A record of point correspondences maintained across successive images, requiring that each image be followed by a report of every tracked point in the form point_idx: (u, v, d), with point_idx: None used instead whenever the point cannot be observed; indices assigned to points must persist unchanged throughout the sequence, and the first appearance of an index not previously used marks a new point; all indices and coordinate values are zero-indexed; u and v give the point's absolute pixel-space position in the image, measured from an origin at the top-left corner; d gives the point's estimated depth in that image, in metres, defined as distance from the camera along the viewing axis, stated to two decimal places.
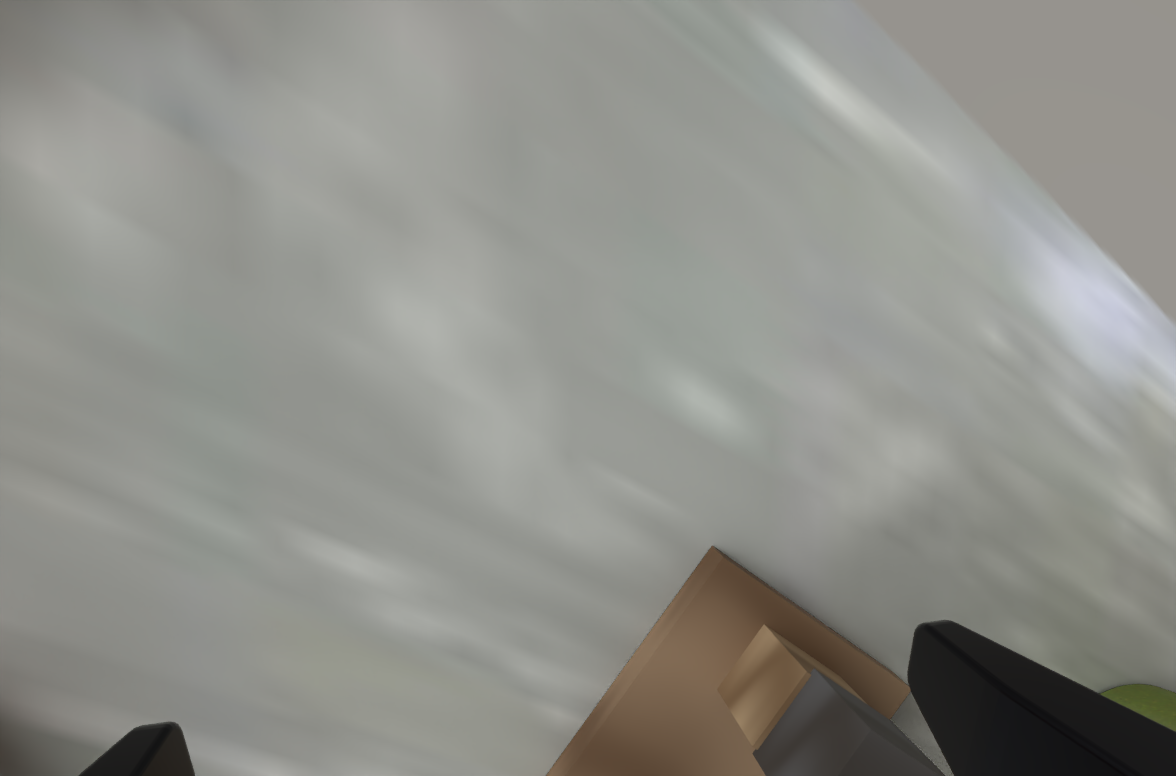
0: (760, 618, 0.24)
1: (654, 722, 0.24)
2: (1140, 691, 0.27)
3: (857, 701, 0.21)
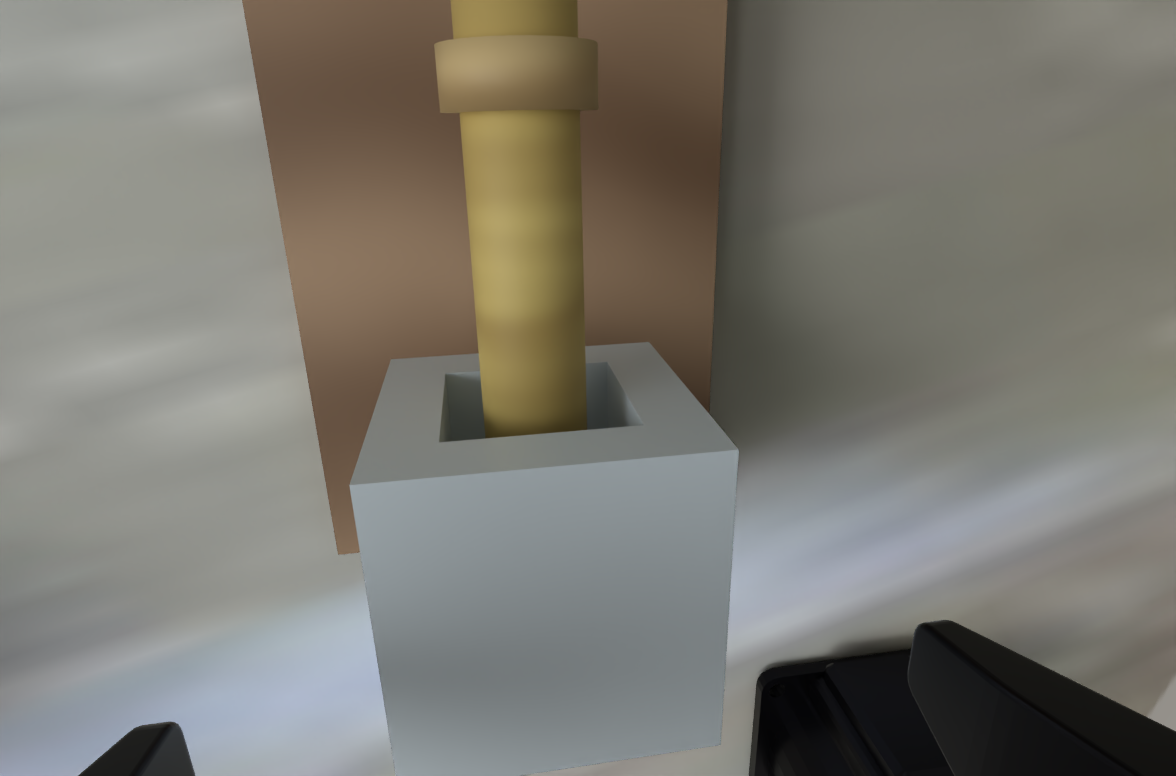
0: None
1: None
2: None
3: None
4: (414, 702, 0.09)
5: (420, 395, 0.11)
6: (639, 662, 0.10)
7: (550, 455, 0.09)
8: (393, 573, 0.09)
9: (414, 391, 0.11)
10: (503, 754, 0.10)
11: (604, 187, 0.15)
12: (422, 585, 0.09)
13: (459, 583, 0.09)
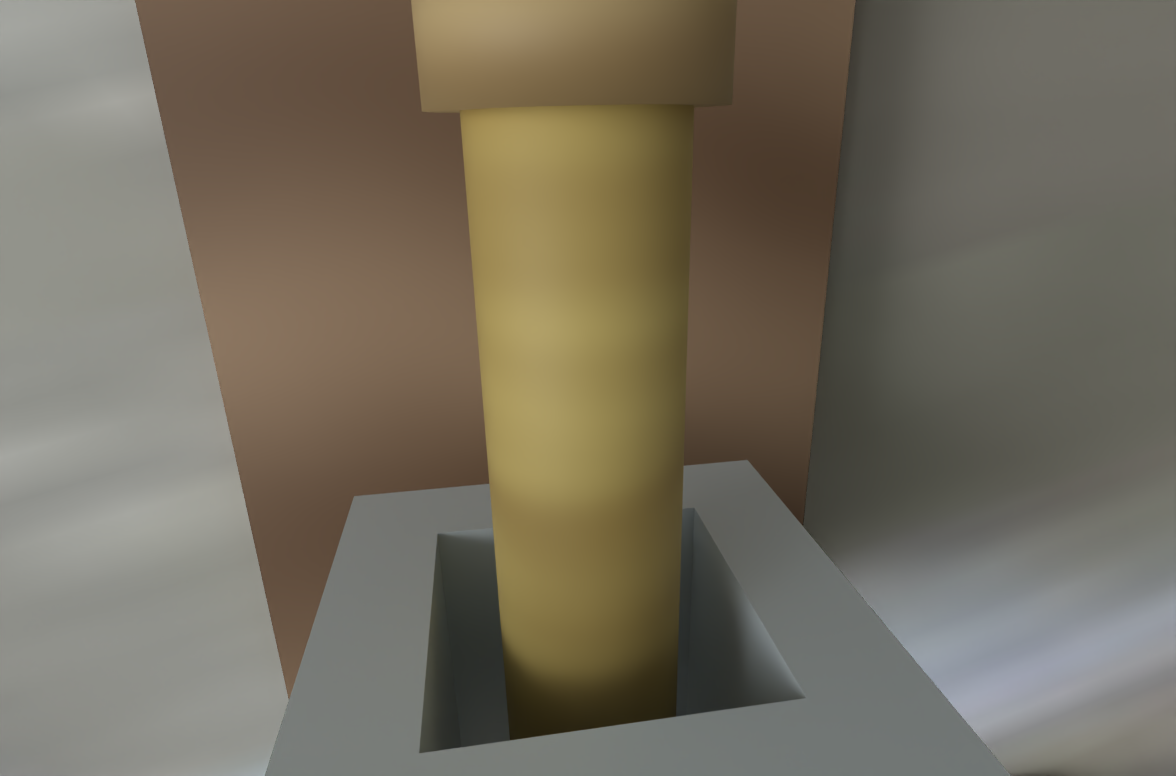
0: None
1: None
2: None
3: None
4: None
5: (393, 594, 0.06)
6: None
7: None
8: None
9: (384, 582, 0.07)
10: None
11: None
12: None
13: None
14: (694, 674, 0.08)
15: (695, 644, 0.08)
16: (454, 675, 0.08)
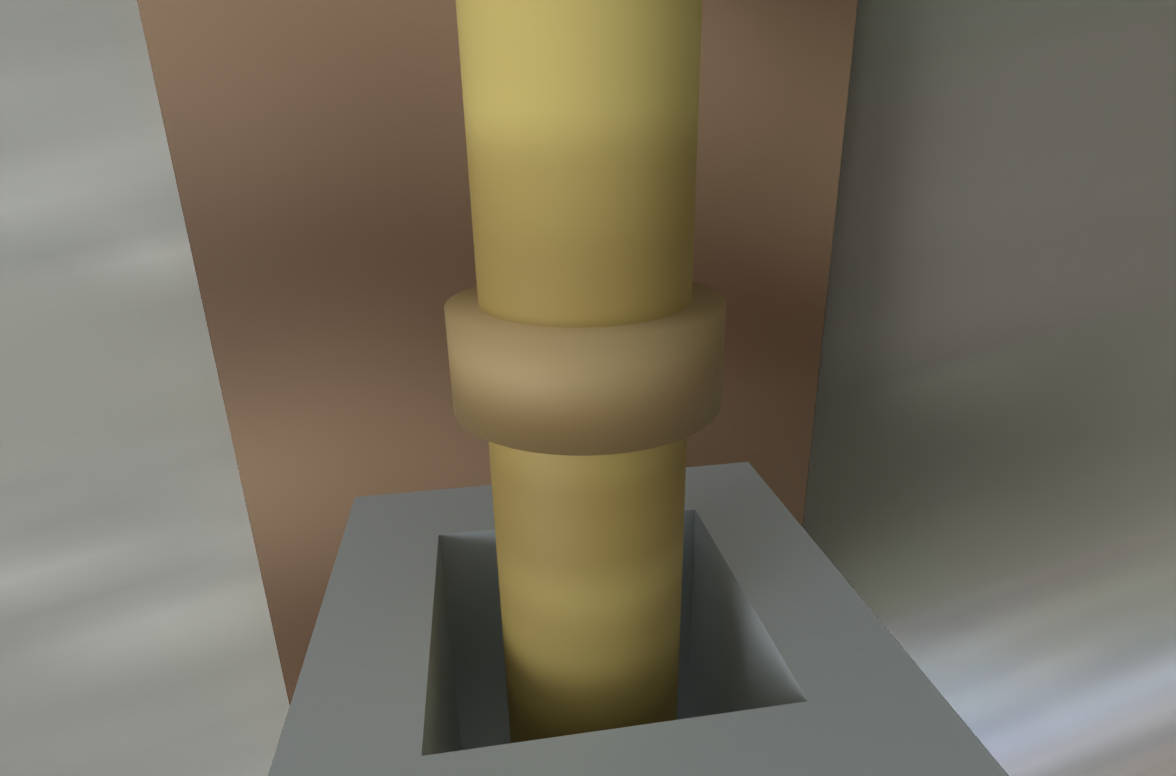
0: None
1: (288, 103, 0.09)
2: None
3: None
4: None
5: (394, 596, 0.06)
6: None
7: None
8: None
9: (385, 584, 0.07)
10: None
11: None
12: None
13: None
14: (694, 676, 0.08)
15: (695, 646, 0.08)
16: (454, 676, 0.08)
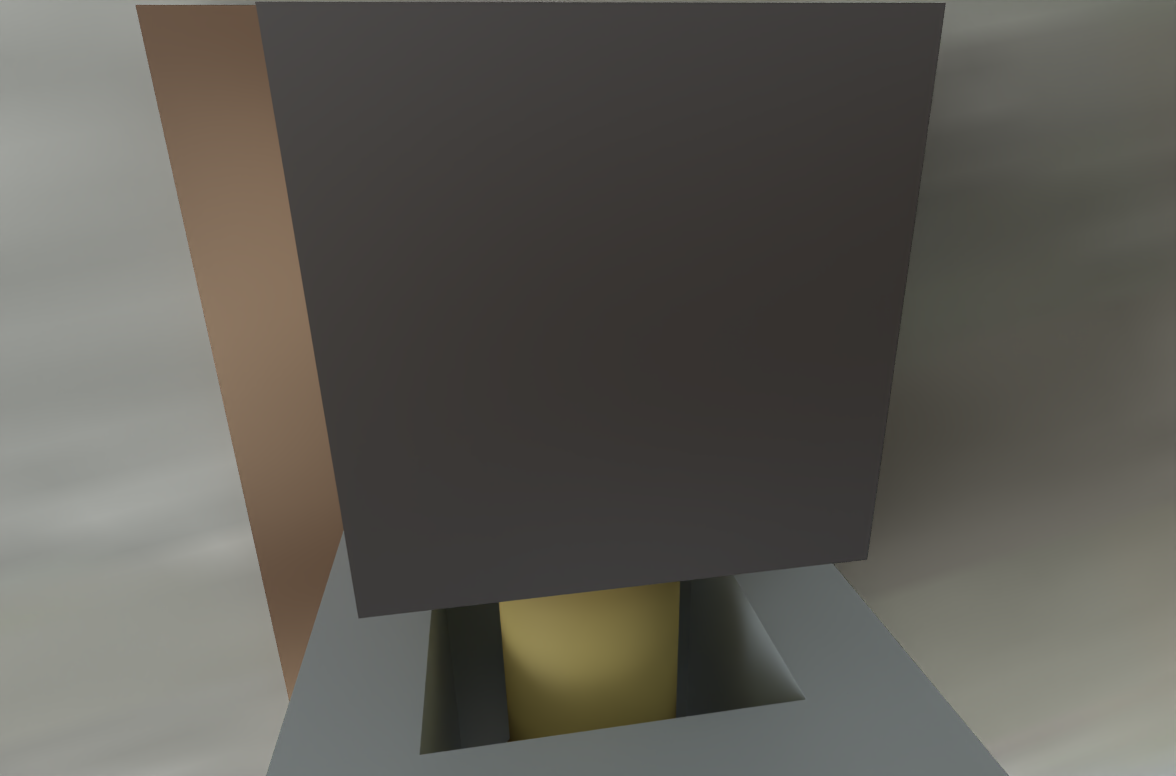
0: None
1: None
2: None
3: None
4: None
5: None
6: None
7: None
8: None
9: None
10: None
11: None
12: None
13: None
14: (694, 674, 0.08)
15: (695, 644, 0.08)
16: (454, 676, 0.08)
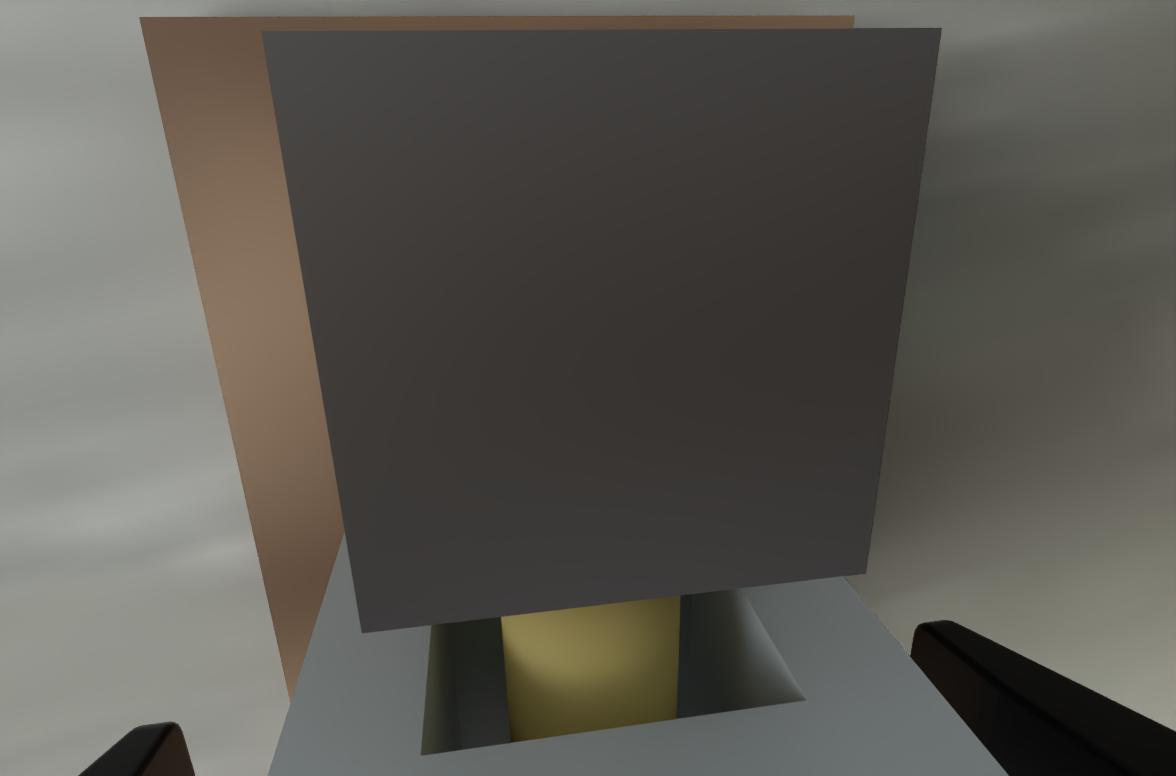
0: None
1: None
2: None
3: None
4: None
5: None
6: None
7: None
8: None
9: None
10: None
11: None
12: None
13: None
14: (695, 676, 0.08)
15: (696, 646, 0.08)
16: (455, 677, 0.08)
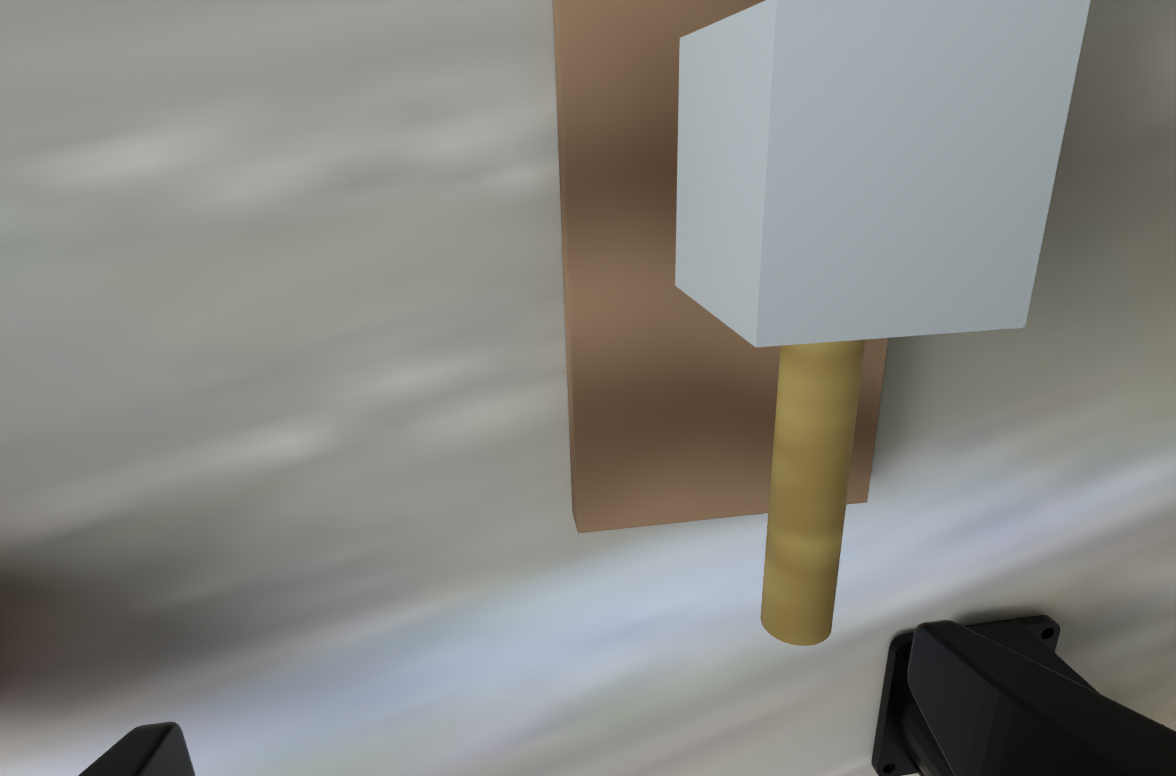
0: None
1: (626, 85, 0.16)
2: None
3: None
4: (786, 244, 0.11)
5: None
6: (974, 223, 0.11)
7: None
8: (794, 97, 0.10)
9: None
10: (847, 313, 0.11)
11: None
12: (815, 113, 0.10)
13: (844, 115, 0.10)
14: None
15: None
16: None
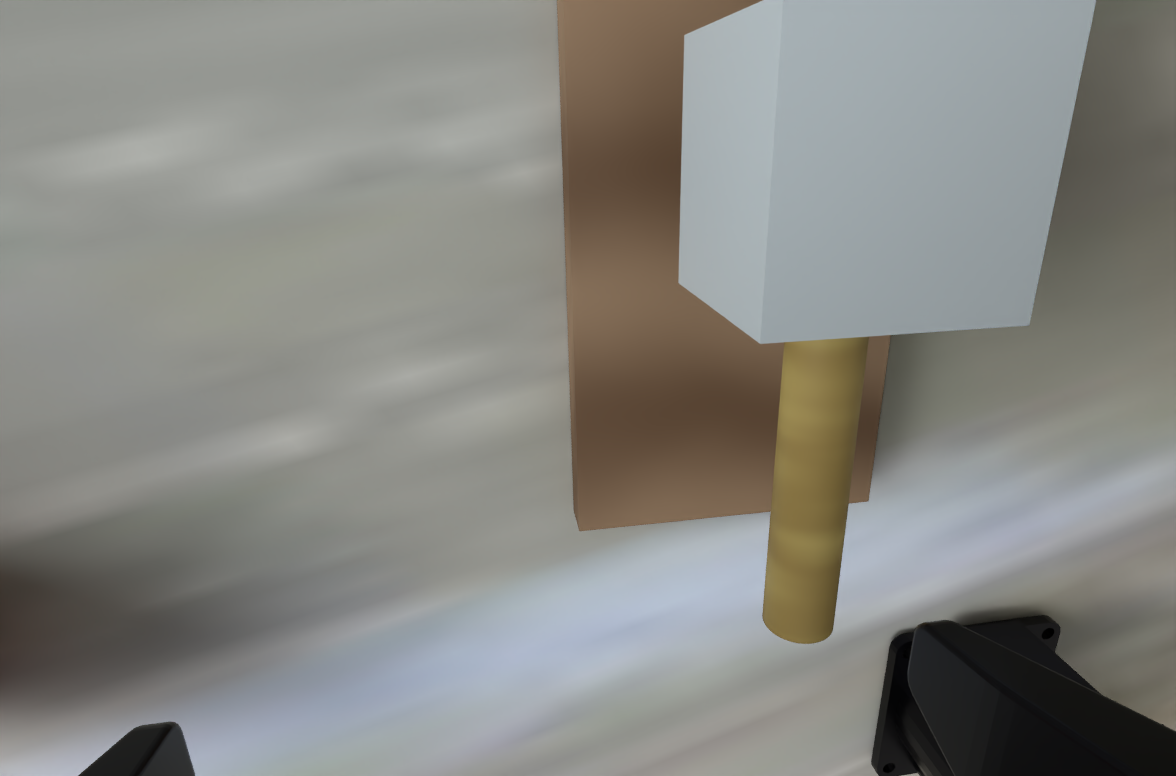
0: None
1: (629, 82, 0.16)
2: None
3: None
4: (791, 240, 0.11)
5: None
6: (979, 221, 0.11)
7: None
8: (801, 93, 0.10)
9: None
10: (852, 310, 0.11)
11: None
12: (821, 110, 0.10)
13: (850, 112, 0.10)
14: None
15: None
16: None
